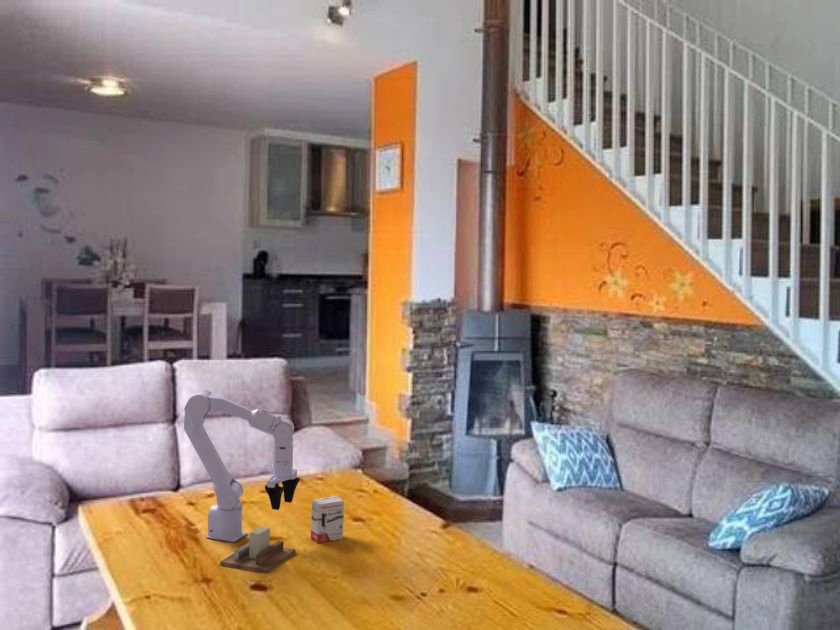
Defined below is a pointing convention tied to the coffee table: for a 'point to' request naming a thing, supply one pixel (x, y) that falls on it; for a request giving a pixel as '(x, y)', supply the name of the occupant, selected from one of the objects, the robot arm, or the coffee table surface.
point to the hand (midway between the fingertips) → (282, 505)
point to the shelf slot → (261, 559)
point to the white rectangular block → (259, 541)
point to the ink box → (327, 519)
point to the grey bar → (241, 552)
